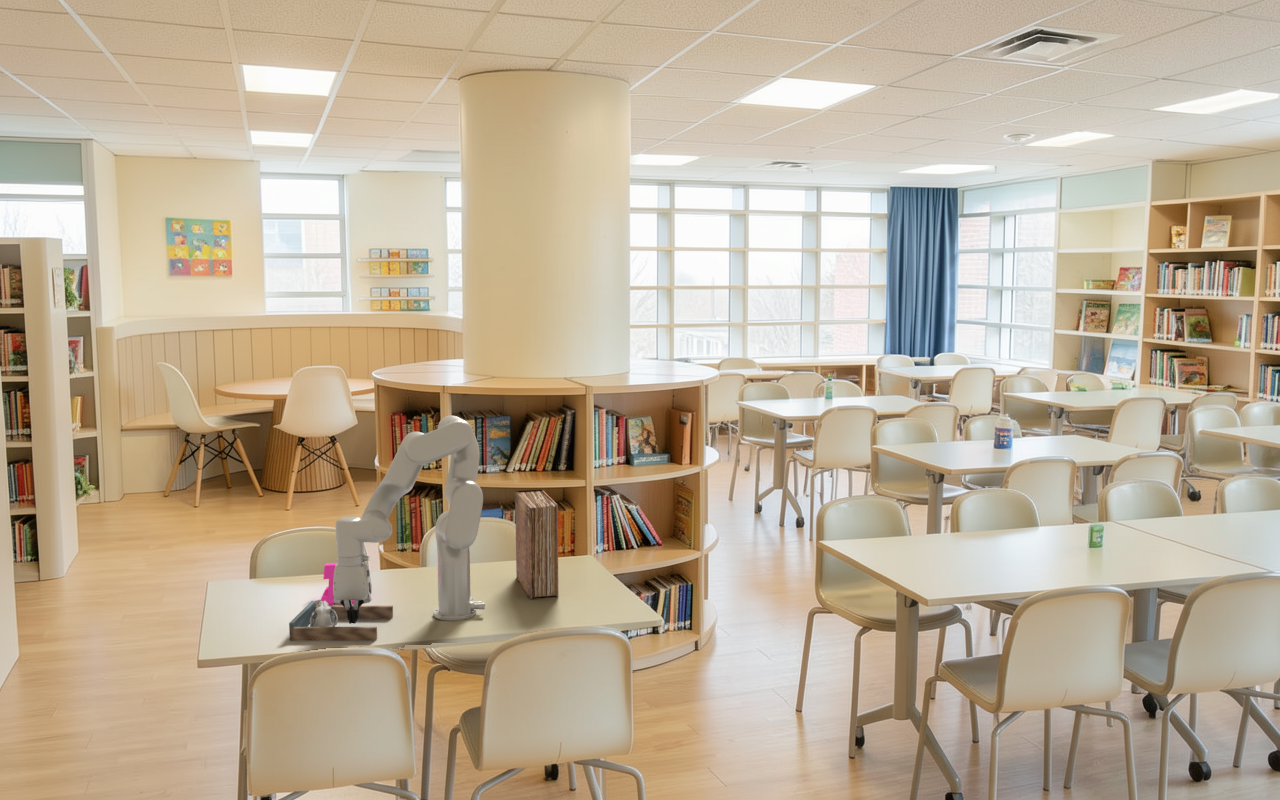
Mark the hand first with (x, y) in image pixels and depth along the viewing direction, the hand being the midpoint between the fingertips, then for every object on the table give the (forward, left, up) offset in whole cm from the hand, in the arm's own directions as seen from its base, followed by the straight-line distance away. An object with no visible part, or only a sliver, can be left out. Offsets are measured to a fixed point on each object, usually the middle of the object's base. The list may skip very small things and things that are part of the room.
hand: (353, 621), depth 280 cm
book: (-49, -39, -2) cm, 63 cm away
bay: (+3, 0, -2) cm, 4 cm away
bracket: (+12, -26, -2) cm, 29 cm away
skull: (+8, 0, -2) cm, 9 cm away
